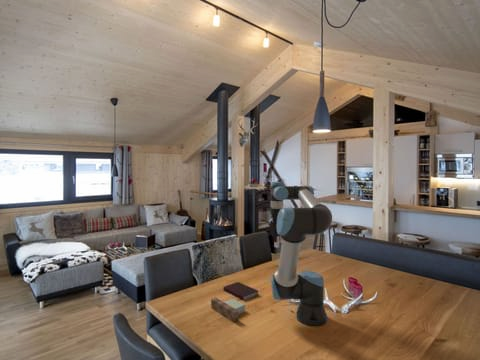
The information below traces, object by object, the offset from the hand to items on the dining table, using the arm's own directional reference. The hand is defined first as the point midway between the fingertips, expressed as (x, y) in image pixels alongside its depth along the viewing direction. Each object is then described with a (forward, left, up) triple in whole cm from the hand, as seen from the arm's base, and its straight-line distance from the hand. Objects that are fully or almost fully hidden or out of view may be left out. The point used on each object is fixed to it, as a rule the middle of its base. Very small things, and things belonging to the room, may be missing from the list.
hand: (276, 247), depth 175 cm
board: (+2, +38, -29) cm, 48 cm away
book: (+17, +14, -30) cm, 37 cm away
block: (+2, +31, -30) cm, 43 cm away
